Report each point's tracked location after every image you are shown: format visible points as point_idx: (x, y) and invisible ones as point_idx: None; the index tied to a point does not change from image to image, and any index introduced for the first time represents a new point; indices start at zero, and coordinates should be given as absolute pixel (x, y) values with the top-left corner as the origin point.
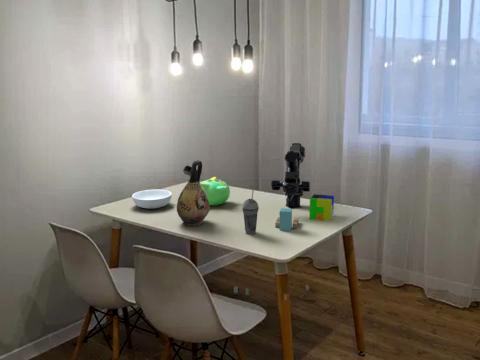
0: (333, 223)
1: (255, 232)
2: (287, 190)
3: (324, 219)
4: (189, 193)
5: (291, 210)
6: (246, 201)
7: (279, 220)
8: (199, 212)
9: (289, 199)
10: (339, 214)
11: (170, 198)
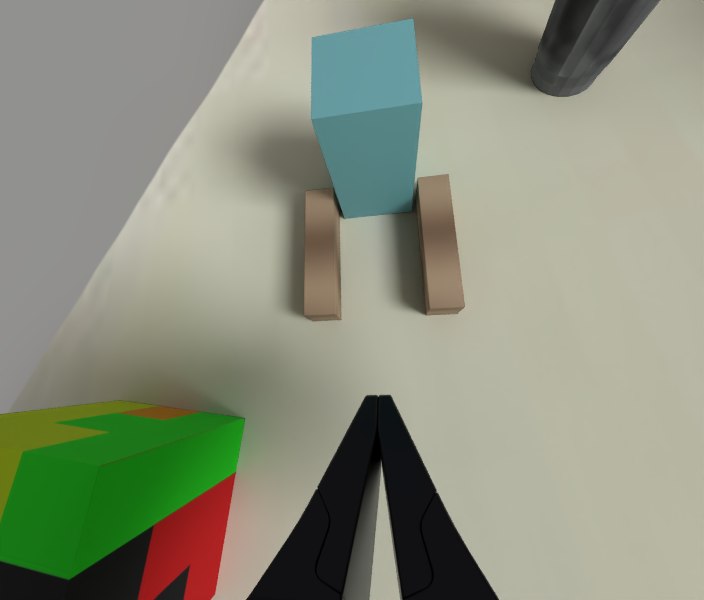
0: (109, 353)
1: (533, 69)
2: (444, 588)
3: (146, 405)
4: None
5: (312, 86)
6: None
7: (432, 229)
8: None
9: (374, 400)
10: None
11: None
